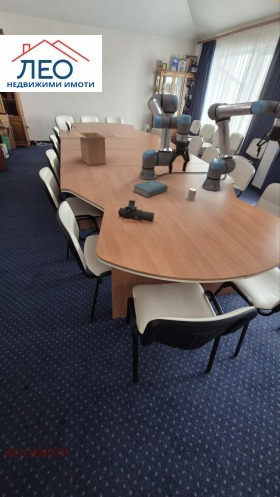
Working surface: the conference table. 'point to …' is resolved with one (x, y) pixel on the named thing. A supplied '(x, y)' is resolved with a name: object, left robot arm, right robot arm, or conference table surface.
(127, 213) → the laser sight
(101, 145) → the box
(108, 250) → the conference table surface
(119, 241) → the conference table surface
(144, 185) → the book
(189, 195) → the can
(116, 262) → the conference table surface
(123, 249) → the conference table surface
